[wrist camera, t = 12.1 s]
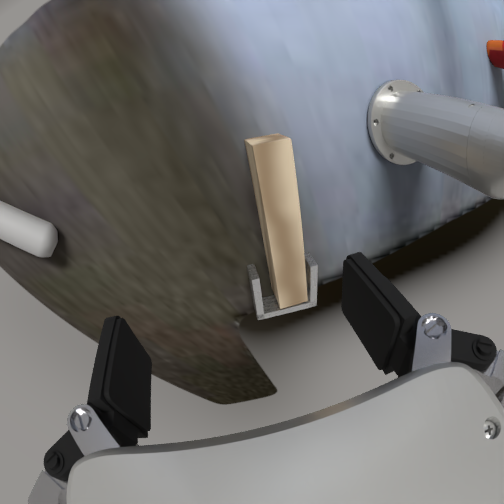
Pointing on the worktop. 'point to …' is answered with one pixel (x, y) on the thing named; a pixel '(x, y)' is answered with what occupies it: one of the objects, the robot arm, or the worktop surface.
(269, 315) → the cup bracket
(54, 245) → the tube
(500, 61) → the coffee cup
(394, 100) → the robot arm
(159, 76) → the worktop surface
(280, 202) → the maple rail
